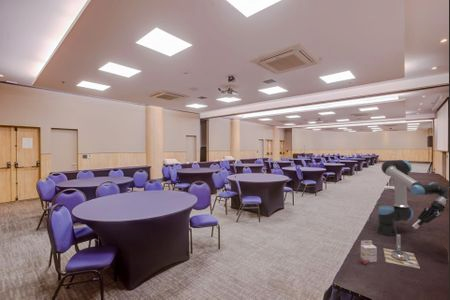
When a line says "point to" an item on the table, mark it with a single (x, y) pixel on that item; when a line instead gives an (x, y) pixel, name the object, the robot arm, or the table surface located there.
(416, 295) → the table surface
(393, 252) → the cam capstan
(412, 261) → the level stand
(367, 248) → the ink cartridge box
